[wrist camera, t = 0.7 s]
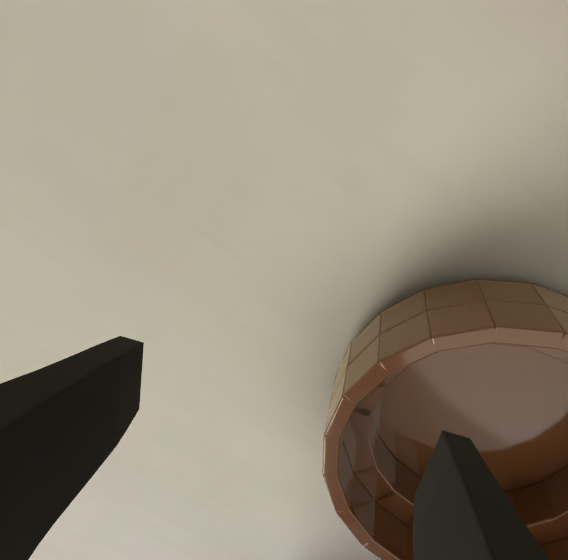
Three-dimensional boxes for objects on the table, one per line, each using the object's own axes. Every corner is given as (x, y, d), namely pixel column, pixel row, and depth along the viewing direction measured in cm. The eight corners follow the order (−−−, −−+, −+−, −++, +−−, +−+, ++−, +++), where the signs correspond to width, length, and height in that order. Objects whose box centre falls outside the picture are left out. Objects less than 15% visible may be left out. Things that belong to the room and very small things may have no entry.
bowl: (647, 500, 20) (710, 604, 16) (372, 515, 24) (368, 602, 20) (624, 242, 17) (698, 291, 13) (303, 307, 20) (281, 361, 16)
